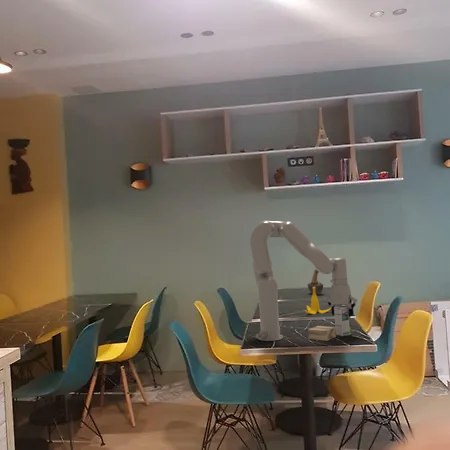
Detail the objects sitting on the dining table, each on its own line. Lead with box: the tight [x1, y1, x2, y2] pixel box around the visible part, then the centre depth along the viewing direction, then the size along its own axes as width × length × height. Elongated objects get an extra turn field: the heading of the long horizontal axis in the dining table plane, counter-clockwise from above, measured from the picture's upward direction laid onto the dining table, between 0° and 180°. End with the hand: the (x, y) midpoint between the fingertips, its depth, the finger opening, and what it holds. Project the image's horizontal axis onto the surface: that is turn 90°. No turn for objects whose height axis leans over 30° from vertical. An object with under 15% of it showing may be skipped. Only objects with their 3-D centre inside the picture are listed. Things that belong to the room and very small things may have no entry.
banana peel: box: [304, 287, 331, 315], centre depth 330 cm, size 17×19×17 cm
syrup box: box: [334, 305, 352, 337], centre depth 262 cm, size 6×6×14 cm
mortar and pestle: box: [307, 269, 324, 296], centre depth 412 cm, size 15×17×20 cm
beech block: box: [307, 325, 337, 342], centre depth 258 cm, size 10×10×5 cm
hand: (342, 315), depth 262 cm, fingers open, 9 cm apart
